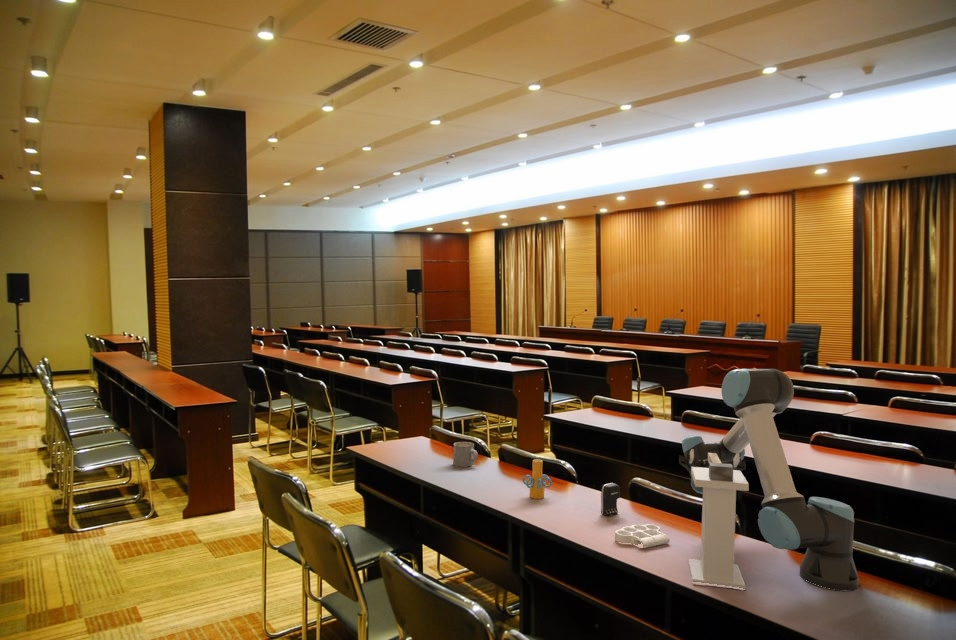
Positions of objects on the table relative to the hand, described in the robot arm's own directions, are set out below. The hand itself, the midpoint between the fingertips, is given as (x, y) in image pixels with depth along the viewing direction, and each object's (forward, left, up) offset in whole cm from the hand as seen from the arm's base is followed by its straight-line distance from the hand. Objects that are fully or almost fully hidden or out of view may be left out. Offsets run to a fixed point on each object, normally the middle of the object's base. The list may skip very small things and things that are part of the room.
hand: (715, 455), depth 197 cm
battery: (+32, -36, -33) cm, 59 cm away
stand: (0, +12, -33) cm, 35 cm away
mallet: (0, +6, -3) cm, 7 cm away
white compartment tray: (+21, -12, -34) cm, 42 cm away
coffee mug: (+103, -89, -33) cm, 140 cm away
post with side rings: (+62, -49, -33) cm, 86 cm away
